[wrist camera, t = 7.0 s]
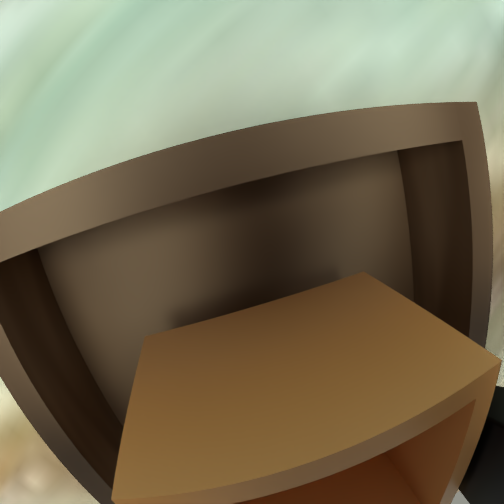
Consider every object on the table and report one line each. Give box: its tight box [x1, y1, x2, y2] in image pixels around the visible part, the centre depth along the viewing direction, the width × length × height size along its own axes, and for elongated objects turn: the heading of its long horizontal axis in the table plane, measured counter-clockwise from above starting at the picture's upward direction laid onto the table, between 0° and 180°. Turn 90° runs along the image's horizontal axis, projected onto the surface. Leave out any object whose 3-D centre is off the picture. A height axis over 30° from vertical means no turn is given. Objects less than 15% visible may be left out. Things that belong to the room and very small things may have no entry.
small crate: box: [111, 271, 502, 504], centre depth 7 cm, size 6×6×5 cm
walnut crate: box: [0, 102, 493, 504], centre depth 9 cm, size 14×14×4 cm
